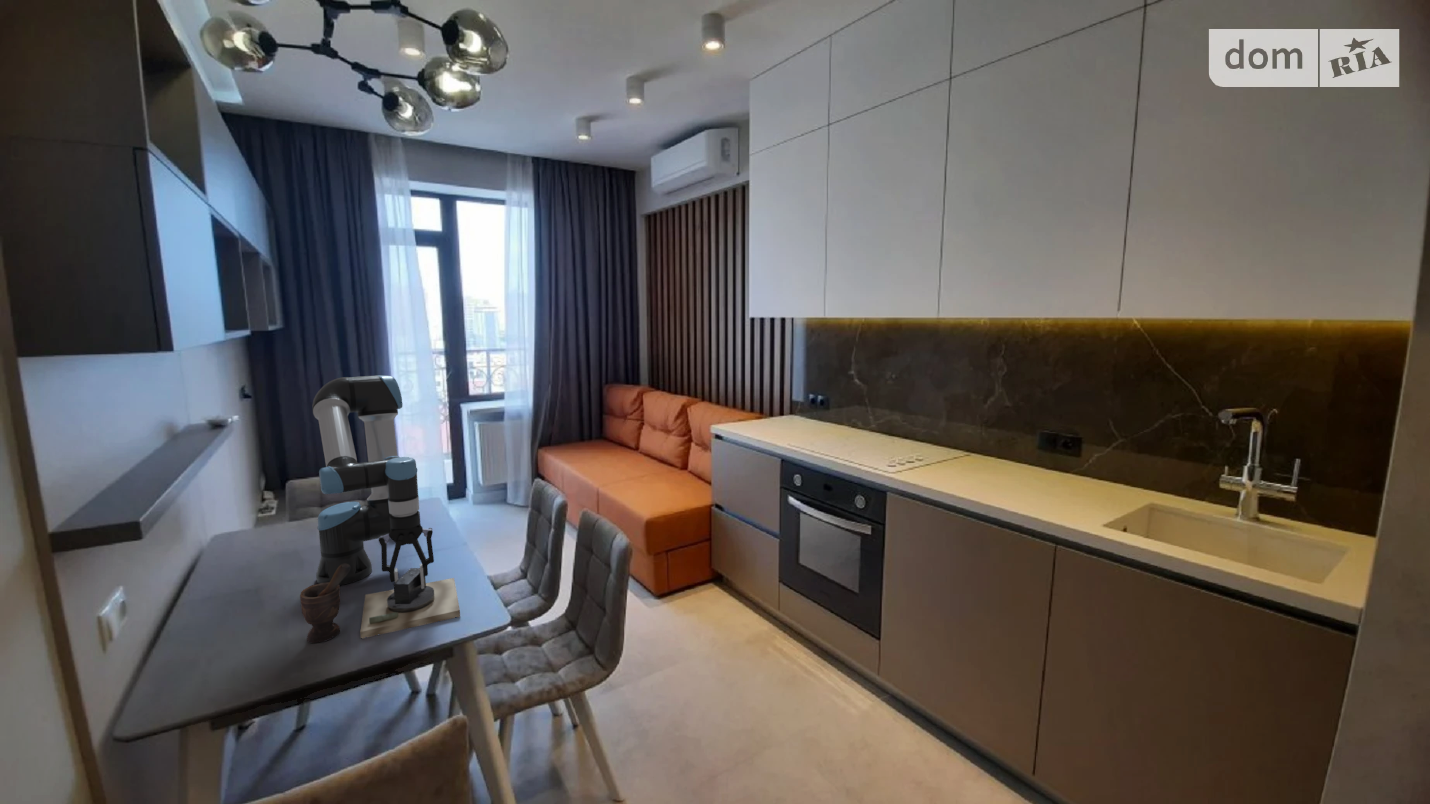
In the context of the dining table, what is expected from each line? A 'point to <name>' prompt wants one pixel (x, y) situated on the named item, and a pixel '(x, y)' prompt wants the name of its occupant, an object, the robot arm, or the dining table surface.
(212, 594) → the dining table surface
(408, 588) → the dial knob
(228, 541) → the dining table surface
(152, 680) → the dining table surface
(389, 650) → the dining table surface
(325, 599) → the mortar and pestle
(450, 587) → the base plate
